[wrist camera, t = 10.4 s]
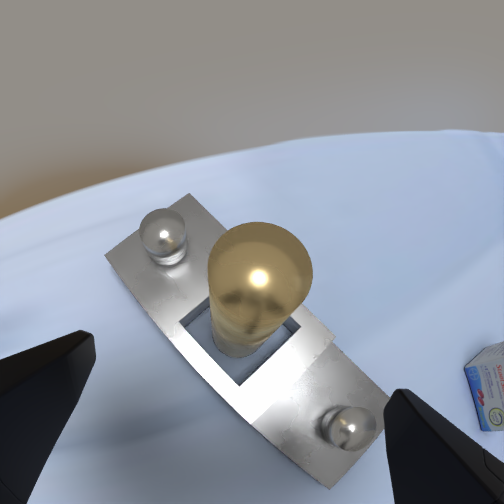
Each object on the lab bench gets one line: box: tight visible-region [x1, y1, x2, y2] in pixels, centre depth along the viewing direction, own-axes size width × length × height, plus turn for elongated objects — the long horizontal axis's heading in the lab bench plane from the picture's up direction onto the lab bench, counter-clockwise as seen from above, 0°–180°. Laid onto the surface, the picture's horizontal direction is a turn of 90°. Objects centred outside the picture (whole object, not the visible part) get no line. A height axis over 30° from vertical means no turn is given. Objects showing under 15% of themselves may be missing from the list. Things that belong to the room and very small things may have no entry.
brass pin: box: [208, 222, 313, 358], centre depth 16 cm, size 4×4×12 cm
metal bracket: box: [104, 193, 390, 490], centre depth 18 cm, size 23×8×5 cm, turn 44°
